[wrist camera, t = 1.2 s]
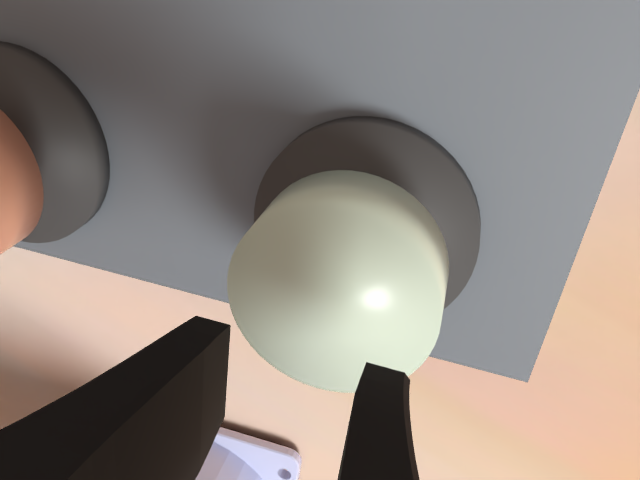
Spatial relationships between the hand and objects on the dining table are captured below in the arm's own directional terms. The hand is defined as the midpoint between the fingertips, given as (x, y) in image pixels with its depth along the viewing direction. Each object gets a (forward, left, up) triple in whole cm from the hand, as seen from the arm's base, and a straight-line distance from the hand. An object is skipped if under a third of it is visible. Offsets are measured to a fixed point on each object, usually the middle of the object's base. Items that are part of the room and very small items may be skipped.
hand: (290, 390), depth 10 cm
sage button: (0, 0, -4) cm, 4 cm away
